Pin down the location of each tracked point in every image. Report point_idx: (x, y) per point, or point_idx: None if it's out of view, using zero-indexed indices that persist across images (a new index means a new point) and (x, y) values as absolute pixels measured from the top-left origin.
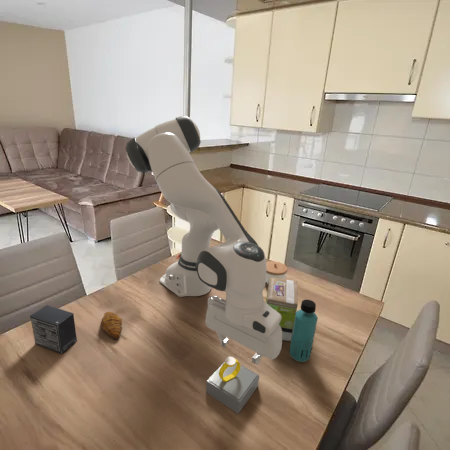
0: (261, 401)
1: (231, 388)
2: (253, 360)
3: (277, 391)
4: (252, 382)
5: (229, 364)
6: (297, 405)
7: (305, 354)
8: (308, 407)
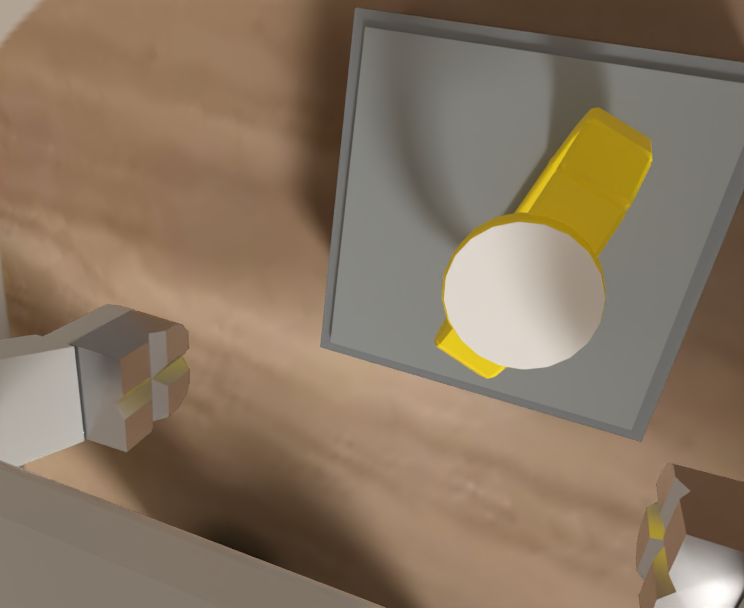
0: (299, 199)
1: (477, 108)
2: (132, 334)
3: (246, 311)
4: (338, 260)
5: (509, 231)
6: (127, 264)
7: None
8: (82, 275)
